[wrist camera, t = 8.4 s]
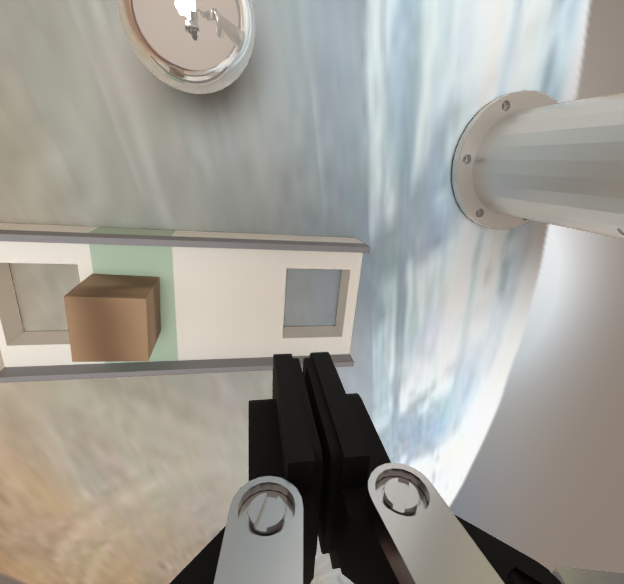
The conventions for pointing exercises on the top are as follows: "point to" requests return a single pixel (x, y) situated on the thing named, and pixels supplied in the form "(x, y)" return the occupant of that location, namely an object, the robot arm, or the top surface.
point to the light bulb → (190, 40)
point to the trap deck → (182, 298)
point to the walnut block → (113, 318)
